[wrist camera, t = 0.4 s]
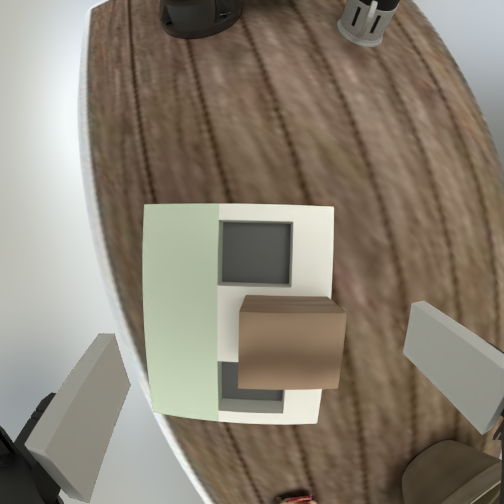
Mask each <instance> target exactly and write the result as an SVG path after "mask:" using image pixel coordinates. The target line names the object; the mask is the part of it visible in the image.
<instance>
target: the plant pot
mask: <svg viewBox="0 0 504 504" xmlns="http://www.w3.org/2000/svg"><path fill="white" fill-rule="evenodd" d="M501 472H502V460H500V459H498V458H496V457H493V456H491V455H488V454H486V453H483V452H481V451H478V450H476V449H474V448H471V447H469V446H467V445H465V444H462V443H460V442H457V441H453V440H444V441H441V442H438V443H436V444H434V445H432V446H430V447H429V448H427V449H426V450H424V451H423V452H422V453H420V454H419V455H418V456H417V457H416V458H415V459H414V460H413V461H412V462H411V463H410V464H409V465H408V466H407V468H406V469H405V471H404V473H403V476H402V491H403V500H404V504H499V498H500V488H501Z"/></svg>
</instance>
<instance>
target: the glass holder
mask: <svg viewBox="0 0 504 504" xmlns="http://www.w3.org/2000/svg"><path fill="white" fill-rule="evenodd" d="M399 1H400V0H347V2H346V5H345V8H344V12H343V15H342V17H341V18H340V19H339V20H338V22H337V28H338V30H339V32H340V33H341V34H342V35H343V36H344V37H345V38H346V39H347V40H349V41H351V42H352V43H354V44H357V45H360V46H363V47H375V46H378V45H380V43H381V42H382V39H383V37H382V35H383V33H384V31H385V29H386V28H387V26H388V24H389V22H390V20H391V18H392V17H393V15H394V13H395V11H396V9H397V7H398V5H399Z"/></svg>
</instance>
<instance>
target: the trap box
mask: <svg viewBox="0 0 504 504" xmlns="http://www.w3.org/2000/svg"><path fill="white" fill-rule="evenodd" d="M333 238H334V207H326V206H304V205H275V204H144V222H143V310H144V329H145V344H146V356H147V367H148V376H149V385H150V393H151V400H152V408H153V412H156V413H161V414H167V415H173V416H179V417H186V418H194V419H202V420H211V421H221V422H233V423H250V424H314V423H317V419H318V413H319V406H320V399H321V392H322V389H310V390H265V389H241V388H238V347H239V311H240V308H241V306H242V303H243V301H244V298H245V296H246V295H267V296H327V297H328V298H330V299H331V289H332V269H333Z"/></svg>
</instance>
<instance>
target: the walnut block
mask: <svg viewBox="0 0 504 504" xmlns="http://www.w3.org/2000/svg"><path fill="white" fill-rule="evenodd" d="M346 316H347V313H346V312H345V311H344V310H342V309H341V308H340V307H339V306H338V305H337V304H335V303H334V302H333V301H332V300H331V299H330V298H328V297H327V296H267V295H246V296H245V298H244V301H243V303H242V306H241V308H240V311H239V347H238V388H241V389H265V390H310V389H334V388H338V383H339V377H340V370H341V362H342V354H343V346H344V337H345V327H346Z"/></svg>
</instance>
